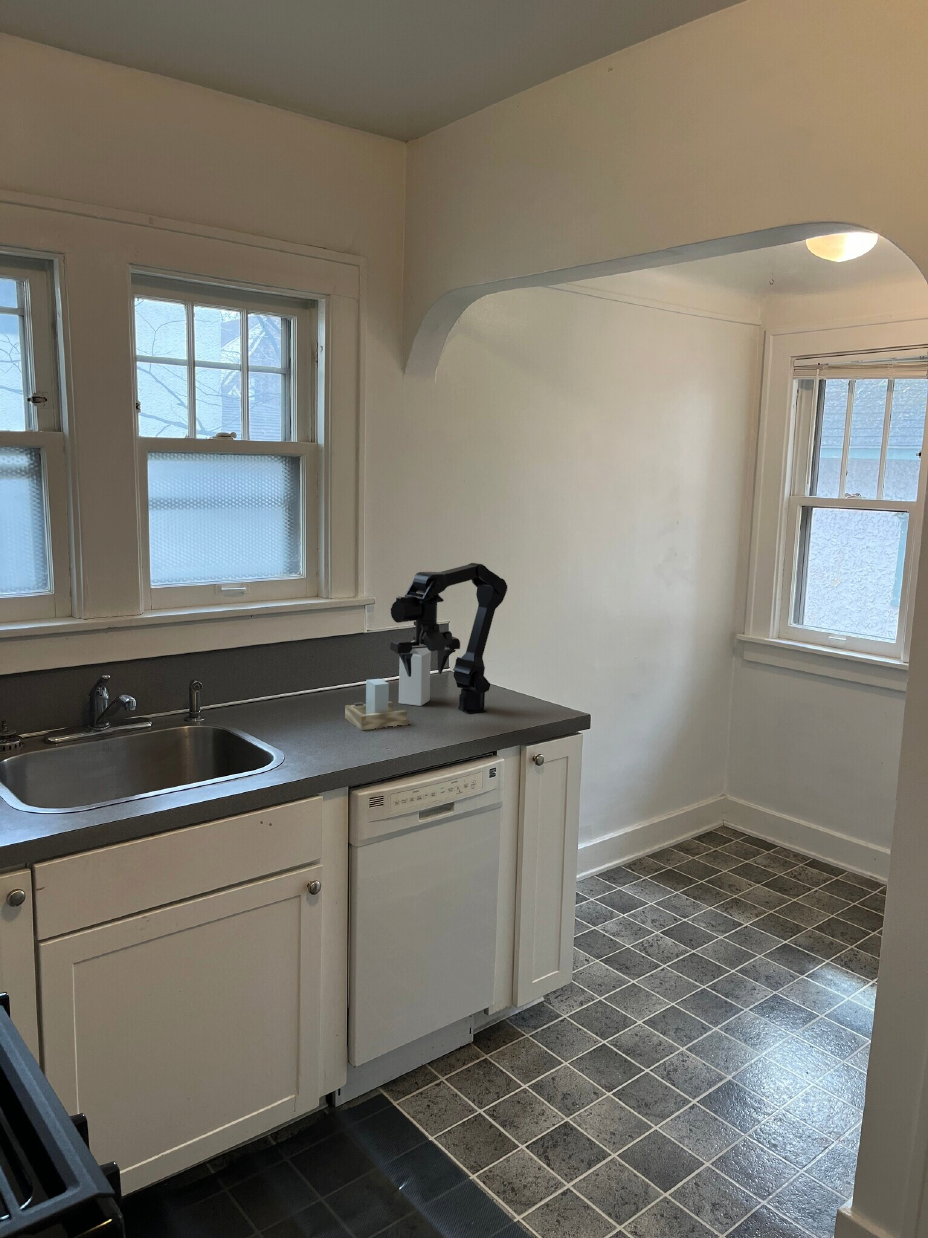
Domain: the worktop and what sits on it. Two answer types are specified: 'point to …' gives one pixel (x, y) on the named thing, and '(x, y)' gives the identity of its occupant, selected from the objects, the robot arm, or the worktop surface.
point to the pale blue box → (376, 696)
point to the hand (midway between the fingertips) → (424, 675)
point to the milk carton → (415, 678)
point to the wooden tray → (374, 717)
